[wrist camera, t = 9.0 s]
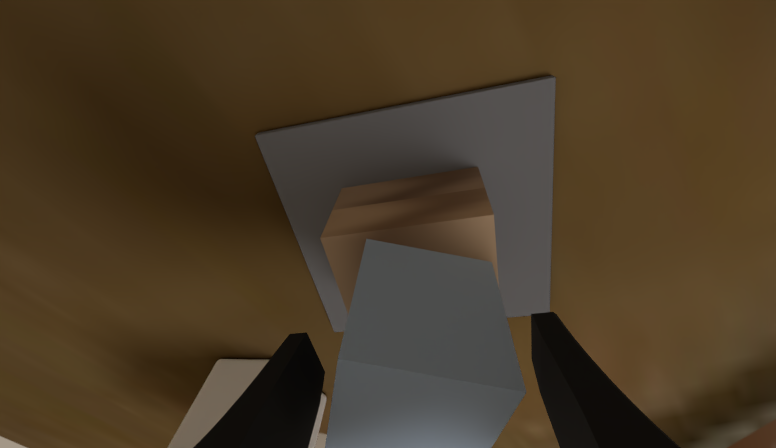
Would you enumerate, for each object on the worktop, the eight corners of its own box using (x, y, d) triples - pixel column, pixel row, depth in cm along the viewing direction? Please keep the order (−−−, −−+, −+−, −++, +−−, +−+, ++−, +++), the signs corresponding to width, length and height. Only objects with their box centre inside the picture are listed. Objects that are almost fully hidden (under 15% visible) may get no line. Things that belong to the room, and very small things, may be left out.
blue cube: (491, 261, 13) (526, 392, 8) (457, 345, 15) (471, 479, 11) (366, 238, 13) (337, 358, 8) (352, 326, 15) (324, 453, 11)
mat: (552, 75, 13) (555, 77, 13) (547, 308, 19) (549, 313, 19) (258, 132, 16) (254, 136, 15) (335, 327, 22) (334, 332, 21)
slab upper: (484, 187, 13) (493, 214, 12) (494, 305, 16) (502, 339, 15) (332, 210, 14) (320, 238, 13) (367, 316, 18) (361, 350, 16)
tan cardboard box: (477, 166, 15) (484, 187, 13) (487, 276, 18) (494, 305, 16) (341, 188, 16) (332, 210, 14) (372, 288, 19) (367, 316, 18)
